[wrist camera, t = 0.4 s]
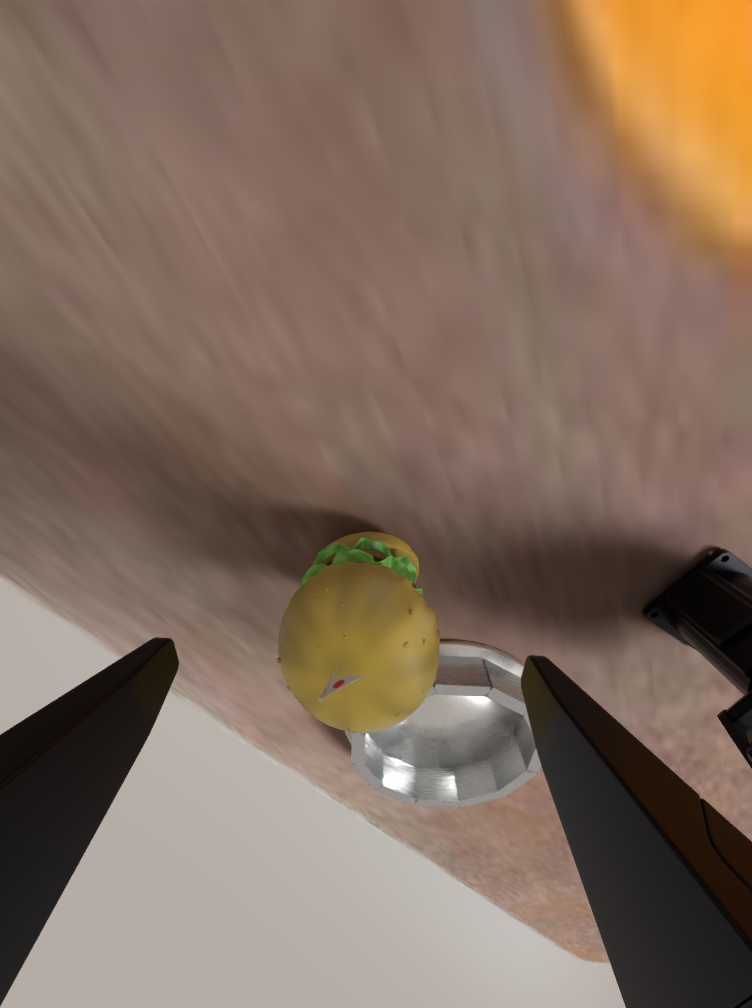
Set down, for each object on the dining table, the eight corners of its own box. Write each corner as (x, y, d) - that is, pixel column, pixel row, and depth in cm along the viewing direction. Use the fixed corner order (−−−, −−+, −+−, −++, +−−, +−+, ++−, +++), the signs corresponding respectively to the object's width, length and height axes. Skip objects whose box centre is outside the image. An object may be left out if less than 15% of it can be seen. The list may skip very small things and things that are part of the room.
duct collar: (587, 696, 28) (610, 734, 26) (458, 793, 34) (465, 833, 32) (419, 605, 25) (423, 638, 22) (307, 731, 31) (300, 770, 28)
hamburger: (340, 611, 25) (308, 813, 14) (288, 533, 23) (199, 705, 12) (439, 574, 24) (487, 766, 13) (395, 486, 21) (408, 632, 10)
